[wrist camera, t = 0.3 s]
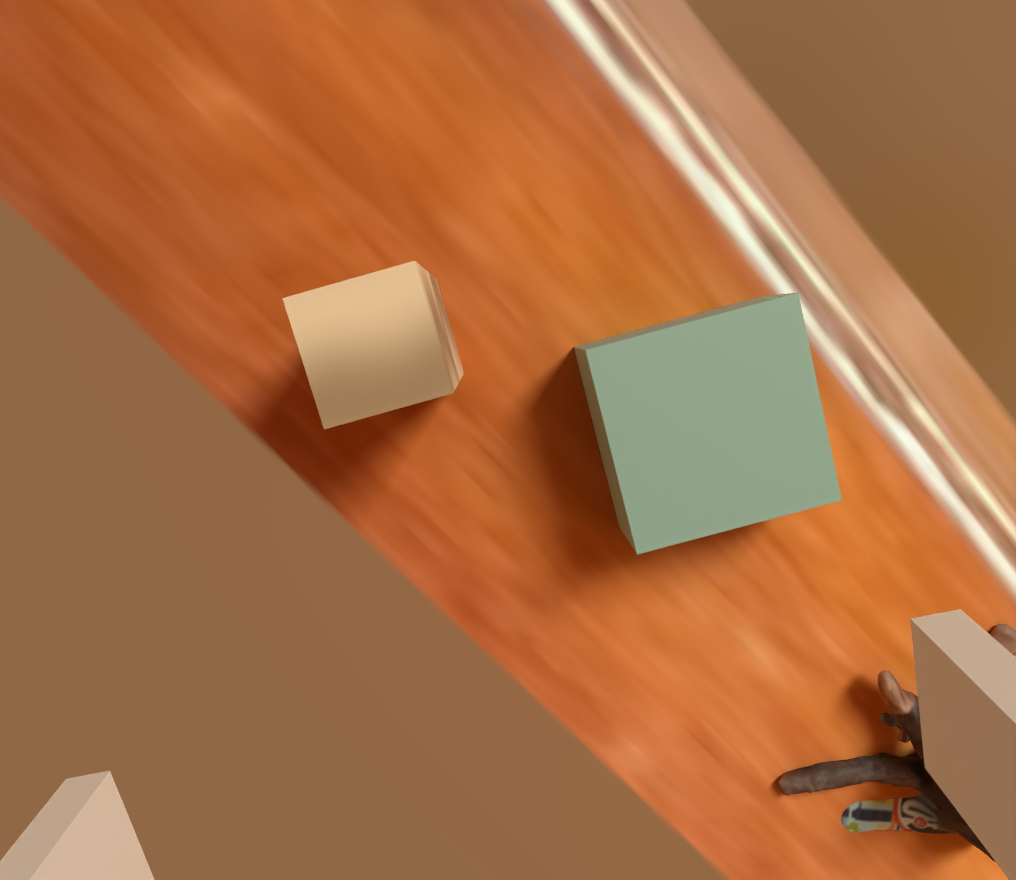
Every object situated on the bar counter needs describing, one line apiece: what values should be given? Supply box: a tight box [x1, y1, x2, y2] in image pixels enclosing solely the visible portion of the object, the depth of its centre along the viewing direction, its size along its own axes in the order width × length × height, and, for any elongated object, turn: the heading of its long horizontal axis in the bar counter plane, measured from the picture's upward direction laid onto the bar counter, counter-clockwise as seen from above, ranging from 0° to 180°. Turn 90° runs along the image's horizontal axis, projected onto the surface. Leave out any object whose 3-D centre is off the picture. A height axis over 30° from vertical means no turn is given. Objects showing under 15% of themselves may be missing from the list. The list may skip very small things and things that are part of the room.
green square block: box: [574, 293, 842, 555], centre depth 36 cm, size 9×9×5 cm
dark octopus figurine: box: [778, 624, 1016, 862], centre depth 41 cm, size 12×10×12 cm
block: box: [283, 261, 464, 429], centre depth 32 cm, size 4×4×11 cm
